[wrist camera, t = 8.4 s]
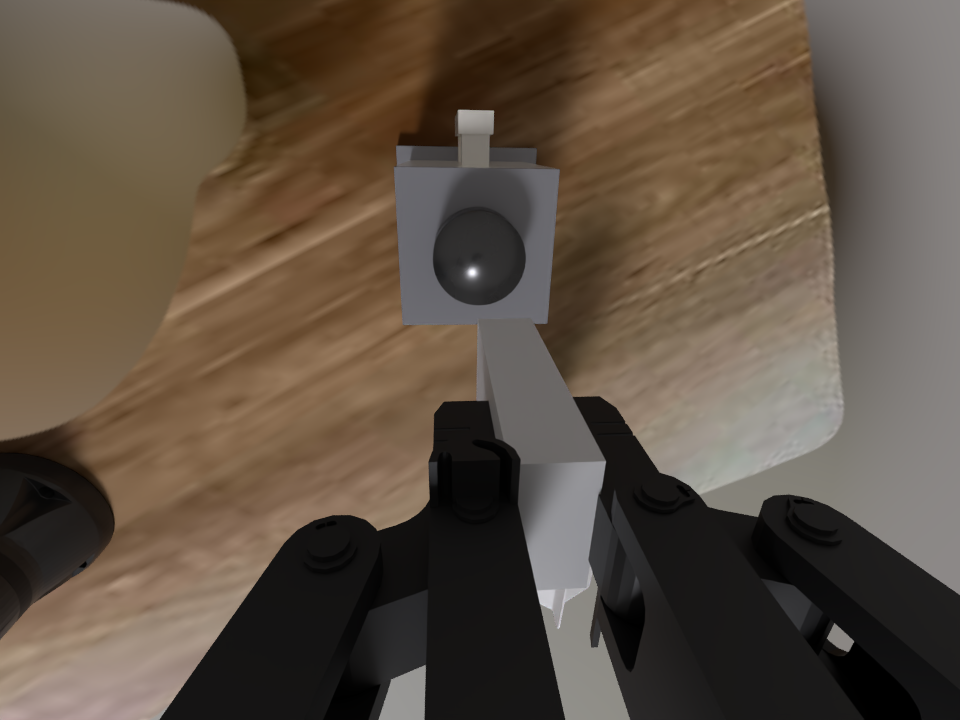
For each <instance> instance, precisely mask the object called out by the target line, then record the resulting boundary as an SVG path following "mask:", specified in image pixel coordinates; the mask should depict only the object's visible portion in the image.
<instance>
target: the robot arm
mask: <svg viewBox="0 0 960 720" xmlns="http://www.w3.org/2000/svg"><path fill="white" fill-rule="evenodd" d="M429 490H430V500H429V502H428V503H427V505H426V507H425V508H424V509H423V510H422V511H421V512H420V513H418V514H417V515H416V516H414V517H413V518H411V519H409V520H408V521H406V522H403V523H401V524H398V525H396V526H392V527H389V528H386V529H382V530H379V531H377V530H376V528H374V527H373V526H372V525H371V524H370V523H369V522H368V521H366V520H364V519H361V518H358V517H355V516H351V515H332V516H329V517H325V518H322V519H318V520H314V521H312V522H311V523H309V524H307V525H305V526H304V527H302V528H300V529H298V530H297V531H296V532H295V533H294V534H293V535H292V536H291V537H290V538H289V539H288V540H287V541H286V542H285V543H284V544H283V546H282V547H281V549H280V550H279V551H278V553H277V554H276V556H275V557H274V558H273V560H272V561H271V563H270V564H269V566H268V567H267V568H266V570H265V571H264V573H263V574H262V575H261V577H260V578H259V580H258V581H257V582H256V584H255V585H254V587H253V588H252V590H251V591H250V592H249V594H248V595H247V597H246V598H245V599H244V601H243V602H242V604H241V605H240V606H239V608H238V609H237V611H236V612H235V614H234V615H233V616H232V618H231V619H230V621H229V622H228V623H227V625H226V626H225V628H224V629H223V631H222V632H221V633H220V635H219V636H218V638H217V639H216V640H215V642H214V643H213V645H212V646H211V647H210V649H209V650H208V652H207V653H206V655H205V656H204V657H203V659H202V660H201V662H200V663H199V664H198V666H197V667H196V669H195V670H194V671H193V673H192V674H191V676H190V677H189V679H188V680H187V681H186V683H185V684H184V686H183V687H182V688H181V690H180V691H179V693H178V694H177V695H176V697H175V698H174V700H173V701H172V703H171V704H170V705H169V707H168V708H167V710H166V711H165V712H164V714H163V715H162V717H161V718H160V720H378V719H379V716H380V713H381V710H382V707H383V704H384V700H385V698H386V694H387V692H388V688H389V685H390V682H391V679H393V678H395V677H398V676H400V675H403V674H405V673H407V672H410V671H412V670H414V669H416V668H419V667H421V666H424V665H426V685H425V686H426V687H425V689H426V690H425V720H565V716H564V712H563V707H562V703H561V698H560V694H559V690H558V685H557V680H556V676H555V671H554V666H553V662H552V657H551V653H550V648H549V643H548V639H547V634H546V630H545V625H544V621H543V616H542V612H541V607H540V602H539V598H538V593H537V590H556V589H574V588H586V587H587V581H588V574H589V568H590V566H591V569H592V572H593V575H594V577H595V580H596V583H597V586H598V591H597V596H596V602H595V608H594V615H593V620H592V626H591V632H590V639H591V647H598V642H599V637H600V632H602V634H603V638H604V641H605V644H606V647H607V650H608V653H609V656H610V659H611V662H612V665H613V668H614V671H615V674H616V678H617V681H618V684H619V686H620V690H621V693H622V696H623V699H624V702H625V705H626V708H627V711H628V714H629V717H630V720H960V595H959V594H957V593H956V592H955V591H953V590H952V589H950V588H948V587H947V586H946V585H944V584H943V583H942V582H940V581H939V580H937V579H936V578H934V577H933V576H931V575H930V574H929V573H927V572H926V571H924V570H923V569H922V568H920V567H919V566H917V565H916V564H914V563H913V562H911V561H910V560H909V559H907V558H906V557H904V556H903V555H901V554H900V553H898V552H897V551H896V550H894V549H893V548H891V547H890V546H889V545H887V544H885V543H884V542H883V541H881V540H880V539H879V538H877V537H876V536H874V535H873V534H871V533H870V532H868V531H867V530H866V529H864V528H863V527H861V526H860V525H858V524H857V523H856V522H854V521H853V520H851V519H850V518H848V517H847V516H845V515H844V514H842V513H840V512H838V511H837V510H835V509H833V508H831V507H830V506H828V505H825V504H823V503H820V502H817V501H814V500H812V499H809V498H805V497H800V496H794V495H776V496H772V497H770V498H768V499H767V500H765V501H764V502H763V505H762V508H761V511H760V514H759V516H758V517H754V516H749V515H744V514H738V513H733V512H727V511H722V510H717V509H714V508H709V507H707V505H706V504H705V502H704V501H703V500H702V498H701V497H700V496H699V495H698V494H697V493H696V492H695V491H694V490H693V489H692V488H691V487H690V486H689V485H687V484H685V483H683V482H682V481H680V480H678V479H676V478H675V477H672V476H668V475H665V474H662V473H659V471H658V470H657V468H656V467H655V465H654V464H653V462H652V461H651V459H650V458H649V456H648V455H647V453H646V452H645V450H644V449H643V447H642V446H641V444H640V443H639V441H638V440H637V438H636V437H635V436H633V432H632V431H631V429H630V428H629V426H628V425H627V424H625V420H624V419H623V417H622V416H621V414H620V413H619V411H618V410H617V408H616V407H614V406H613V405H611V404H610V403H608V402H607V401H605V400H604V399H602V398H601V397H600V396H597V397H572V395H571V394H570V392H569V390H568V388H567V386H566V384H565V382H564V380H563V378H562V376H561V374H560V373H559V371H558V369H557V367H556V365H555V363H554V361H553V359H552V357H551V355H550V353H549V352H548V350H547V348H546V346H545V344H544V342H543V340H542V338H541V336H540V334H539V332H538V331H537V329H536V327H535V325H534V323H533V321H532V319H531V318H514V319H478V336H477V401H451V402H443V403H442V405H441V406H440V407H439V409H438V410H437V411H436V412H435V414H434V443H433V451H432V454H431V457H430V459H429ZM113 529H114V522H113V517H112V513H111V510H110V508H109V506H108V504H107V502H106V501H105V499H104V498H103V496H102V495H101V494H100V493H99V492H98V490H97V489H96V488H95V487H94V486H93V485H91V484H90V483H89V482H88V481H87V480H85V479H84V478H83V477H81V476H80V475H78V474H77V473H75V472H74V471H72V470H70V469H68V468H66V467H64V466H62V465H60V464H58V463H55V462H52V461H50V460H47V459H44V458H40V457H36V456H31V455H25V454H16V453H0V639H1V638H2V637H3V636H4V635H5V634H6V633H7V632H8V630H9V629H10V628H11V627H12V626H13V625H14V624H15V622H16V621H17V620H18V619H19V618H20V617H21V616H22V614H23V613H24V612H25V611H26V610H27V609H28V608H29V607H30V606H31V605H32V604H33V603H35V602H36V601H38V600H39V599H41V598H43V597H44V596H46V595H47V594H49V593H50V592H52V591H53V590H55V589H56V588H58V587H59V586H61V585H62V584H64V583H65V582H66V581H68V580H69V579H70V578H72V577H73V576H75V575H77V574H79V573H80V572H82V571H83V570H85V569H86V568H87V567H88V566H90V565H91V564H92V563H93V562H94V561H95V559H96V558H97V557H98V556H99V555H100V554H101V552H102V551H103V550H104V549H105V548H106V546H107V545H108V544H109V542H110V540H111V538H112V535H113ZM834 623H835V624H836V625H837V626H838V627H840V628H841V629H842V630H843V631H844V632H845V633H846V634H848V636H849V637H850V638H852V639H853V640H854V643H853V645H852V647H851V649H850V651H849V652H846V651H844V650H841V649H839V648H837V647H836V646H835V645H833V644H832V643H831V642H830V641H829V640H828V639H827V637H828V635H829V633H830V631H831V629H832V627H833V625H834Z"/></svg>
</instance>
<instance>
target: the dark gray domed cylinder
mask: <svg viewBox="0 0 960 720" xmlns="http://www.w3.org/2000/svg"><path fill="white" fill-rule="evenodd" d="M525 264H526V253H525V247H524V243H523V241H522V239H521V236H520V235H519V233H518V232H517V230H516V229H515V228H514V227H513V225H512V224H511V223H510V222H509V221H508V220H507V219H506V218H505V217H504V216H503V215H501V214H500V213H498V212H496V211H495V210H492V209H489V208H485V207H469V208H465V209H462V210H459V211H457V212H455V213H454V214H452V215H451V216H450V217H449V218H448V219H446V220H445V222H444V223H443V224H442V225H441V227H440V229H439V230H438V233H437V235H436V238H435V242H434V249H433V268H434V272H435V275H436V278H437V280H438V282H439V284H440V285H441V287H442V288H443V289H444V290H445V291H446V292H447V293H448V294H449V295H450V296H451V297H453V298H454V299H456V300H458V301H460V302H462V303H465V304H470V305H488V304H492V303H495V302H497V301H499V300H502V299H503V298H505V297H506V296H507V295H509V294H510V293H511V292H512V291H513V290H514V289H515V288H516V286H517V285H518V284H519V282H520V280H521V278H522V276H523V273H524V269H525Z"/></svg>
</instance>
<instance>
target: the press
mask: <svg viewBox="0 0 960 720" xmlns="http://www.w3.org/2000/svg"><path fill="white" fill-rule="evenodd" d="M493 131H494V111H488V110H458V111H457V114H456V116H455V136H458V147H439V146H396V153H397V166H395V167H394V176H395V194H396V212H397V230H398V248H399V266H400V284H401V302H402V320H403V325H458V324H478V319H514V318H531V319H532V321H533V323H534V324H547V321H548V308H549V296H550V283H551V271H552V258H553V246H554V234H555V221H556V209H557V196H558V184H559V172H560V169H556V168H551V167H546V166H541V165H537V164H536V155H537V148H496V147H489V146H490V135H493ZM469 207H485V208H489V209H492V210H495V211H496V212H498V213H500V214H501V215H503V216H504V217H505V218H506V219H507V220H508V221H509V222H510V223H511V224H512V225H513V227H514V228H515V229H516V230H517V232H518V233H519V235H520V236H521V239H522V241H523V243H524V247H525V253H526V264H525V269H524V273H523V276H522V278H521V280H520V282H519V284H518V285H517V286H516V288H515V289H514V290H513V291H512V292H511V293H510V294H509V295H507V296H506V297H505V298H503V299H502V300H499V301H497V302H495V303H492V304H488V305H470V304H465V303H462V302H460V301H458V300H456V299H454V298H453V297H451V296H450V295H449V294H448V293H447V292H446V291H445V290H444V289H443V288H442V287H441V285H440V284H439V282H438V280H437V278H436V275H435V272H434V268H433V249H434V242H435V238H436V235H437V233H438V230H439V229H440V227H441V225H442V224H443V223H444V222H445V220H446V219H448V218H449V217H450V216H451V215H452V214H454V213H455V212H457V211H459V210H462V209H465V208H469Z"/></svg>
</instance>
